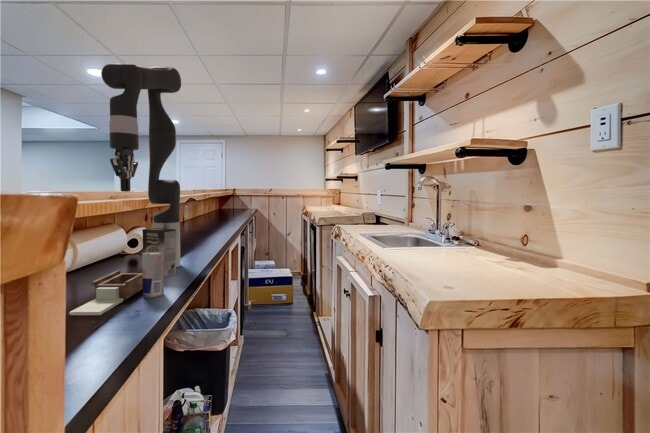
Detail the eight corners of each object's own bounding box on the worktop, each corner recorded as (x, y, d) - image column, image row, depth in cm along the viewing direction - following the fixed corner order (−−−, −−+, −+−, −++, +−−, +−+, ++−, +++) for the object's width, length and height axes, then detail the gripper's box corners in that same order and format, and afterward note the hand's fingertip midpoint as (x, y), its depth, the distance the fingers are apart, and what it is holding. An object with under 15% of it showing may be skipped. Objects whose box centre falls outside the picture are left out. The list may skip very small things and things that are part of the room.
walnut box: (118, 286, 111) (117, 270, 110) (149, 286, 111) (149, 270, 111) (92, 300, 97) (91, 282, 96) (128, 299, 98) (127, 281, 97)
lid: (96, 302, 96) (95, 287, 96) (123, 302, 97) (123, 287, 96) (69, 317, 85) (68, 299, 85) (100, 316, 86) (99, 299, 85)
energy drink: (144, 293, 103) (143, 252, 103) (164, 291, 105) (163, 251, 104) (141, 298, 98) (140, 255, 98) (163, 297, 100) (162, 254, 100)
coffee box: (142, 275, 124) (141, 229, 123) (156, 271, 131) (155, 227, 129) (164, 277, 122) (163, 230, 121) (177, 273, 128) (176, 228, 127)
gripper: (126, 129, 101) (128, 191, 103) (146, 136, 114) (147, 191, 116) (98, 129, 101) (100, 191, 102) (121, 136, 114) (123, 191, 115)
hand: (125, 191), depth 109 cm, fingers closed
